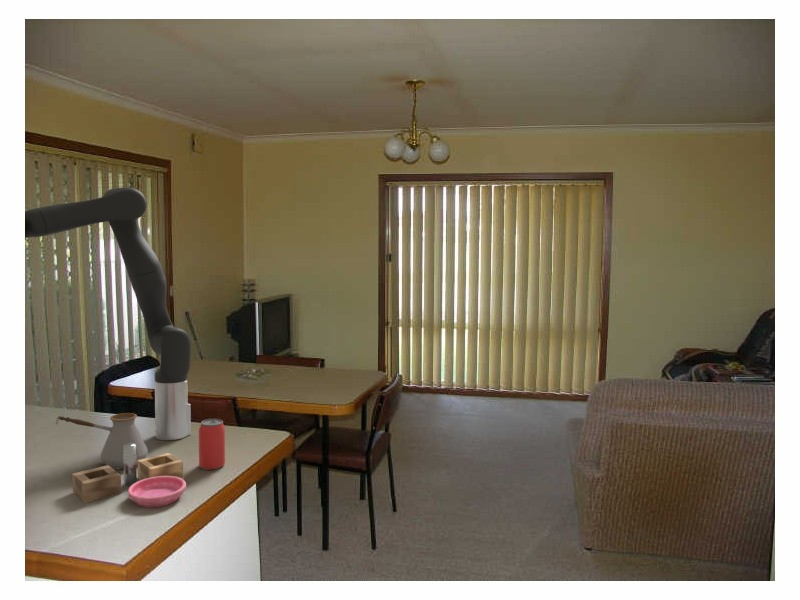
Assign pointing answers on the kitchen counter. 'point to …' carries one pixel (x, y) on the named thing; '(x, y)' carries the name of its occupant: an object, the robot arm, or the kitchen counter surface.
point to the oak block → (160, 466)
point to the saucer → (157, 491)
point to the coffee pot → (117, 438)
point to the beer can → (211, 444)
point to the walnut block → (96, 483)
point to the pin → (129, 464)
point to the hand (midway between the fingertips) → (5, 364)
